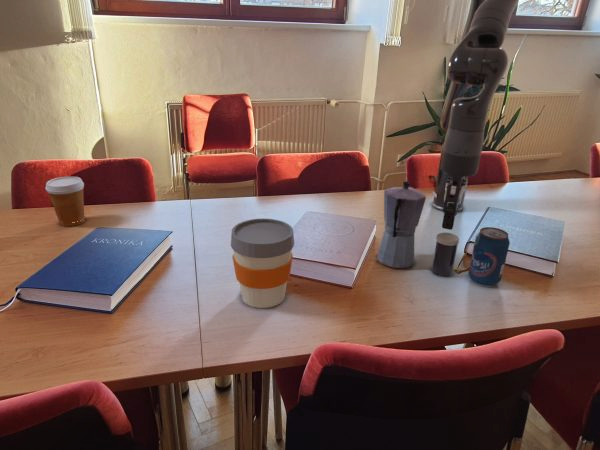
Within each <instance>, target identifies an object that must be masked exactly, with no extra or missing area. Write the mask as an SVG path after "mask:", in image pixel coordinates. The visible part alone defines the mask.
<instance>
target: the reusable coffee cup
mask: <svg viewBox="0 0 600 450" xmlns="http://www.w3.org/2000/svg"><path fill="white" fill-rule="evenodd" d="M230 235H231V236H230V247H231V250H232V251H233V254H232V262H233V267H234V273H235V278H236V280H237V282H238V284H239V289H240V294H241V299H242V301H243V302H244V303H245V304H246V305H248V306H250V307H253V308H258V309H267V308H272V307H275V306H277V305H279V304H281V303H282V302H283V301H284V299H285V296H286V289H287V284H288V281H289V279H290V277H291V270H292V265H293V258H294V255H293V252H292V251H293V248H294V247H295V235H294V229H293V227H292V226H291V224H289V223H287V222H285V221H282V220H279V219H274V218H252V219H247V220H244V221H241V222H238V223H237V224H236V225H234V226H233V227H232V229H231V234H230Z"/></svg>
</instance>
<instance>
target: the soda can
mask: <svg viewBox="0 0 600 450" xmlns="http://www.w3.org/2000/svg"><path fill="white" fill-rule="evenodd" d="M510 245H511V242H510V239H509V233H508V232H507V231H506V230H504V229H501V228H498V227H494V226H493V227H492V226H484V227H481V228H480V230H479V232H478V233H477V234H476V236H475V239H474V244H473V249H472V252H471V257H470V263H469V267H468V276H469V278H470V280H471V281H472V283H473V284H475V285H477V286H480V287H483V288H484V287H485V288H492V287H495V286H496V285H498V284H499V283H500V282H501V281H502V277H503V274H504V269H505V266H506V261H507V257H508V254H509V253H508V252H509V247H510Z"/></svg>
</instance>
